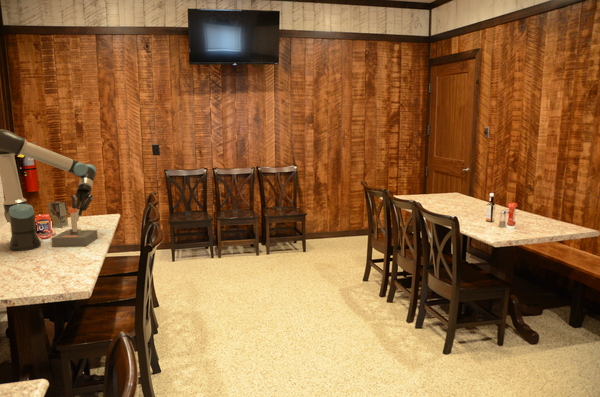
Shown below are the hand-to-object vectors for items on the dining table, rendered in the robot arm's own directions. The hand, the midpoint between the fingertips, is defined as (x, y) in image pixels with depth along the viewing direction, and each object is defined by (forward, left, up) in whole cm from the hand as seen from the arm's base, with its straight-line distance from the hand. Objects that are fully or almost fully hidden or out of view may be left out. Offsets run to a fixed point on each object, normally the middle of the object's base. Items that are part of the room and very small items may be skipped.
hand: (76, 219), depth 272 cm
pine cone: (-20, +40, -13) cm, 47 cm away
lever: (-1, -2, -7) cm, 8 cm away
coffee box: (-4, +50, -13) cm, 52 cm away
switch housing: (-1, -2, -13) cm, 13 cm away
